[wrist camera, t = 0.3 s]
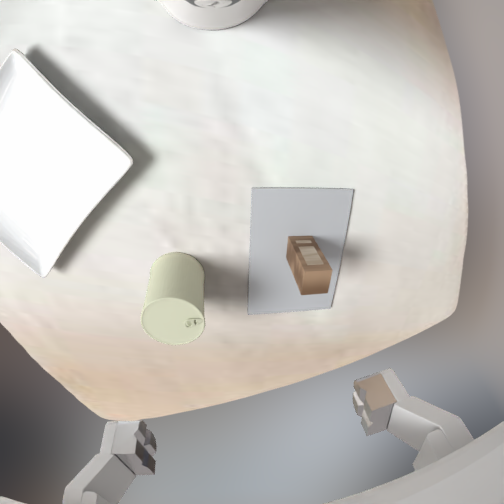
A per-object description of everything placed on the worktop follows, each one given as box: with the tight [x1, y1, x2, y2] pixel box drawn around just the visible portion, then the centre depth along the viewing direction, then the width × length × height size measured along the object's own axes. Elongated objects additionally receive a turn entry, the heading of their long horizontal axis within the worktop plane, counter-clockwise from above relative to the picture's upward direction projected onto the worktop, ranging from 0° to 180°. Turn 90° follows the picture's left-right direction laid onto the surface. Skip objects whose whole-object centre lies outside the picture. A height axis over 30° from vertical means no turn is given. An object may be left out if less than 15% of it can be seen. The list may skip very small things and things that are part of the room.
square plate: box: [0, 49, 133, 278], centre depth 38 cm, size 27×27×4 cm
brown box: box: [286, 236, 333, 295], centre depth 48 cm, size 4×4×10 cm
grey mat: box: [248, 187, 353, 315], centre depth 53 cm, size 24×16×1 cm, turn 178°
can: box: [141, 252, 205, 345], centre depth 47 cm, size 9×9×12 cm
